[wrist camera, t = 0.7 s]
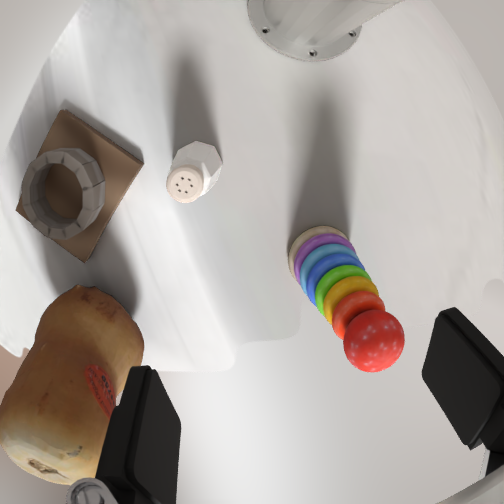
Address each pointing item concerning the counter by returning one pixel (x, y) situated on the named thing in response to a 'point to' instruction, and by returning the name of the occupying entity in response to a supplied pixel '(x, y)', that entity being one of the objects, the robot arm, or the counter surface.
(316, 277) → the stacking toy
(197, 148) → the pepper shaker
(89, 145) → the shaft housing
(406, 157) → the counter surface
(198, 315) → the counter surface
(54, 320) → the butternut squash
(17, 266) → the counter surface
